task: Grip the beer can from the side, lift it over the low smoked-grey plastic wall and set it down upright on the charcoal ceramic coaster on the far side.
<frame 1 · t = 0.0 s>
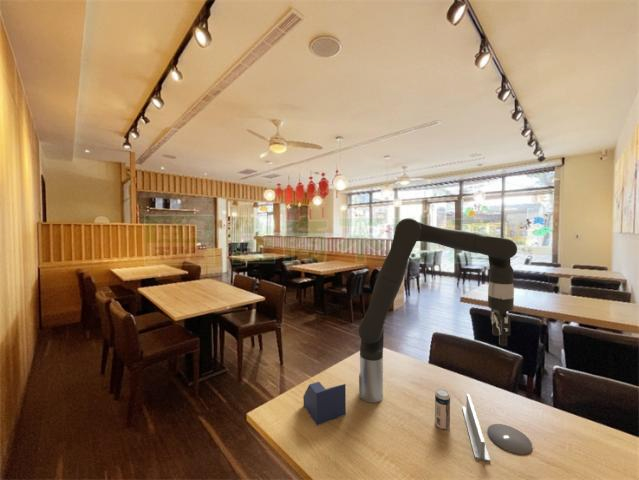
hand: (499, 340, 97), 29 cm above the table, tool pointing down, fingers open, 8 cm apart
phone stand: (324, 410, 106), on the table
coaster: (508, 439, 90), on the table
low wall: (474, 431, 93), on the table
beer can: (442, 425, 97), on the table
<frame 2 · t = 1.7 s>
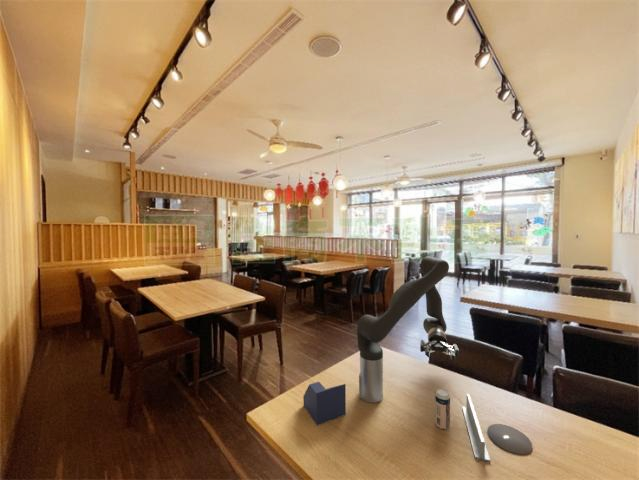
hand: (440, 356, 106), 20 cm above the table, tool horizontal, fingers open, 8 cm apart
nothing on the table moved.
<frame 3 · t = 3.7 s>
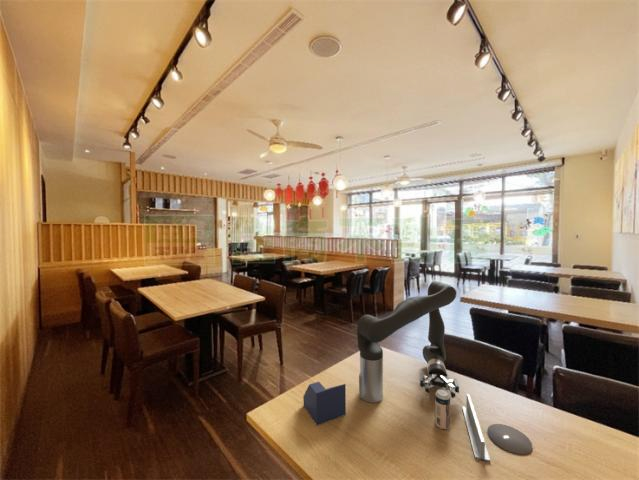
hand: (440, 393, 104), 7 cm above the table, tool horizontal, fingers open, 8 cm apart
nothing on the table moved.
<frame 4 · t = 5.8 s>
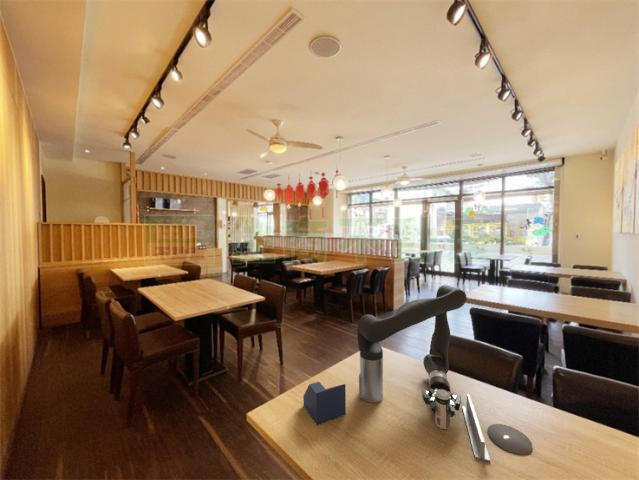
hand: (443, 412, 94), 7 cm above the table, tool horizontal, fingers closed on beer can, 5 cm apart
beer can: (442, 425, 97), on the table, touching gripper
everything else where it was.
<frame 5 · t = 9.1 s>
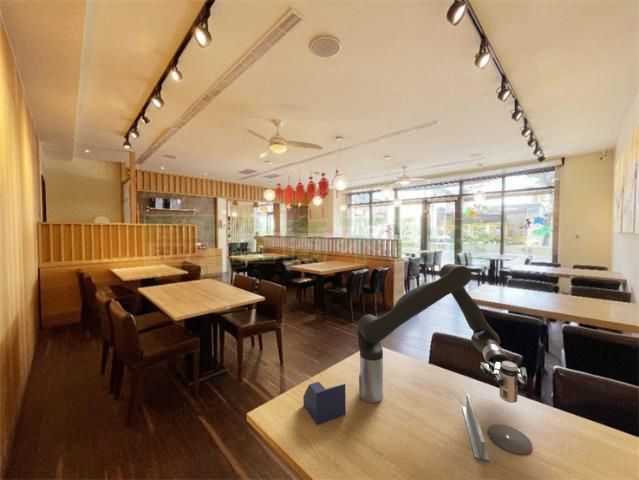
hand: (511, 384, 87), 20 cm above the table, tool horizontal, fingers closed on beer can, 4 cm apart
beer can: (508, 399, 90), point 13 cm above the table, touching gripper
everything else where it was.
when the fingers open (8 cm above the table, at t = 11.9 s): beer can stays where it is, resting on coaster.
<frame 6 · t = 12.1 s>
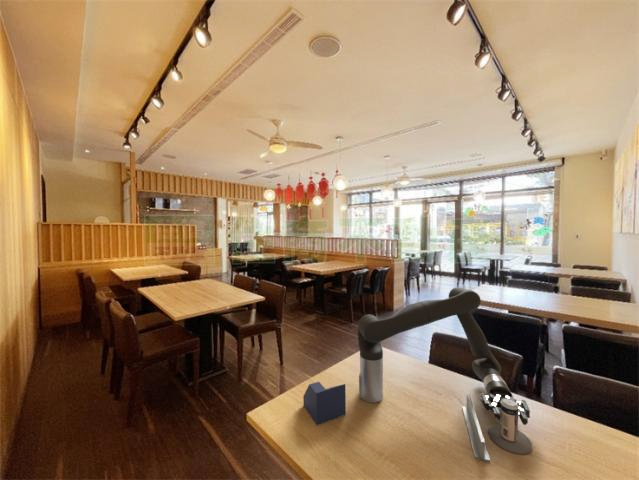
hand: (511, 419, 87), 8 cm above the table, tool horizontal, fingers open, 6 cm apart
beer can: (508, 437, 90), resting on coaster
everything else where it was.
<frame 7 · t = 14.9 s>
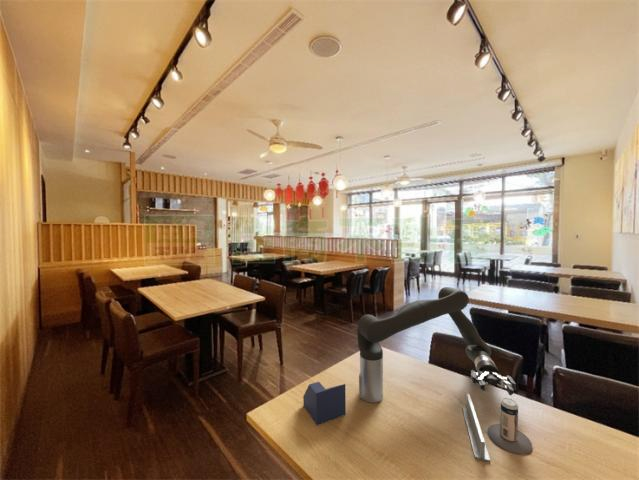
hand: (497, 390, 100), 10 cm above the table, tool horizontal, fingers open, 8 cm apart
nothing on the table moved.
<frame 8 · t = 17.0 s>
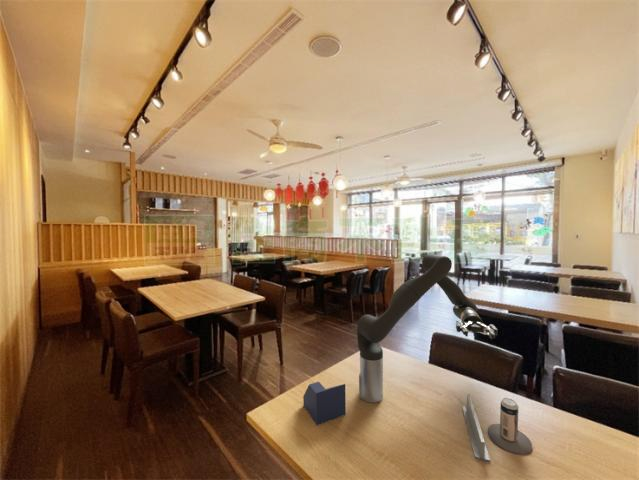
hand: (479, 335, 105), 28 cm above the table, tool horizontal, fingers open, 8 cm apart
nothing on the table moved.
at the end: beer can 0.2 cm off-centre on the coaster, point 0.4 cm above the coaster's base; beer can tilted 0°; the gripper is holding nothing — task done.
